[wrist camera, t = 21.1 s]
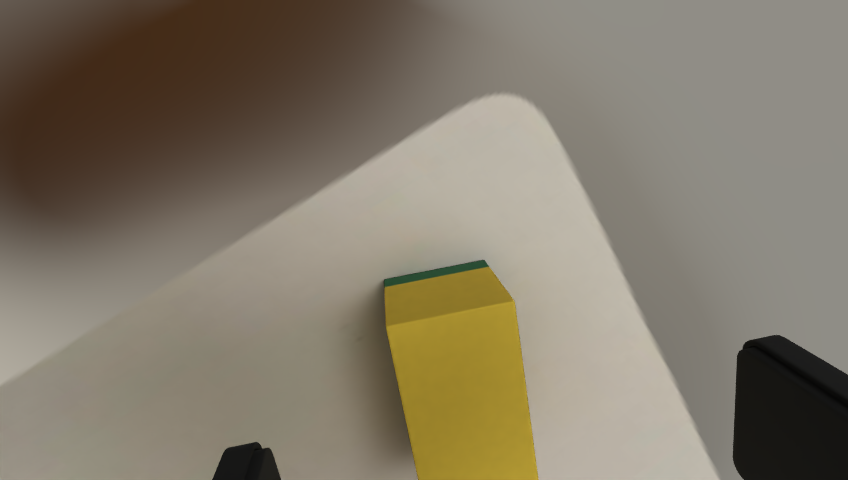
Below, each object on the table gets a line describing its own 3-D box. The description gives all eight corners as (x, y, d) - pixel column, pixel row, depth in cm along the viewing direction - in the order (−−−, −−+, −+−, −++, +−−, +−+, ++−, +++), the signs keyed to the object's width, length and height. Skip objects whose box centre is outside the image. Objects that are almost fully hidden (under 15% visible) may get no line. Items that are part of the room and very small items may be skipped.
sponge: (484, 259, 22) (515, 300, 17) (509, 428, 24) (542, 507, 19) (383, 278, 21) (385, 326, 17) (418, 448, 24) (429, 532, 19)
